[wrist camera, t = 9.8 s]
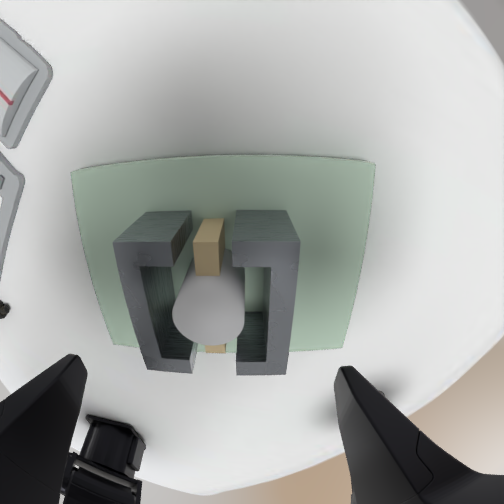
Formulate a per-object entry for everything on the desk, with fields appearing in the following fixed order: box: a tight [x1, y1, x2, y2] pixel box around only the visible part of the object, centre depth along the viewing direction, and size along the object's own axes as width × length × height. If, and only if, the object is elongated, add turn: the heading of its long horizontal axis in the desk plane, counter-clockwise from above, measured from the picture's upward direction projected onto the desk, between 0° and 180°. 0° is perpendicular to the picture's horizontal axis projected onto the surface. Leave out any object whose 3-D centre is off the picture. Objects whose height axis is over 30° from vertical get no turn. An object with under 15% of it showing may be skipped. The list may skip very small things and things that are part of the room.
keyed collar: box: [112, 210, 301, 375], centre depth 13 cm, size 7×7×4 cm
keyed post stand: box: [71, 155, 375, 353], centre depth 13 cm, size 16×12×5 cm
